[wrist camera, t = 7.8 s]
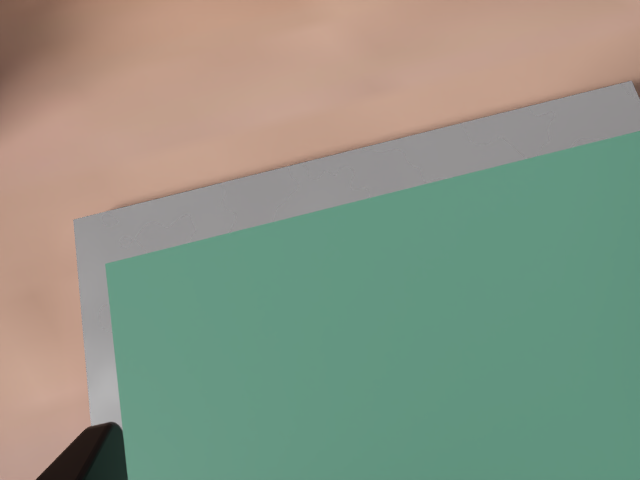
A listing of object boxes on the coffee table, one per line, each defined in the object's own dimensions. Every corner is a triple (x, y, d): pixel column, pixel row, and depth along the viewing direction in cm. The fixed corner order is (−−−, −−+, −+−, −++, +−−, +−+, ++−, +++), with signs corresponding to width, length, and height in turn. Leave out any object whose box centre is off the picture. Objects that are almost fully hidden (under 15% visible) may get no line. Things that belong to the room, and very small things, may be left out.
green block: (545, 530, 15) (1159, 967, 3) (352, 572, 15) (197, 1135, 3) (485, 335, 16) (728, 109, 4) (310, 377, 17) (105, 263, 5)
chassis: (910, 771, 13) (1081, 886, 10) (153, 914, 14) (80, 1064, 11) (619, 97, 19) (667, 28, 16) (88, 229, 20) (27, 190, 17)
